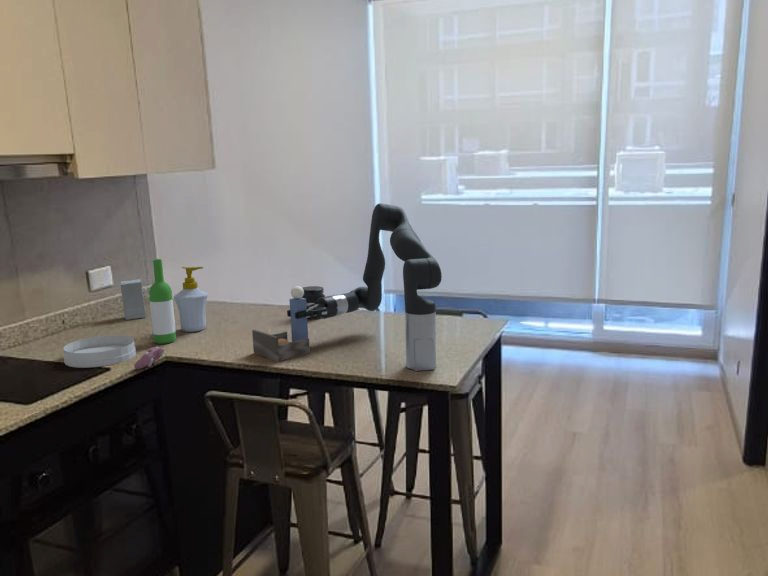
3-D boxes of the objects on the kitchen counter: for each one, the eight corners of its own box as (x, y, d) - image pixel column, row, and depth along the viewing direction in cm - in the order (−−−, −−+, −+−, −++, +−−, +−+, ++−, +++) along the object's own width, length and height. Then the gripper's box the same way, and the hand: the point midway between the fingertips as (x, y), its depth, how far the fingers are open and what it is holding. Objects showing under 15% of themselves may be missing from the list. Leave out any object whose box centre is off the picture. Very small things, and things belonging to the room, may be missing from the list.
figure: (301, 342, 222) (298, 284, 218) (309, 344, 219) (306, 285, 215) (291, 344, 219) (287, 286, 215) (298, 347, 216) (295, 287, 212)
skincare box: (144, 314, 276) (141, 278, 272) (146, 318, 269) (142, 281, 266) (123, 317, 272) (119, 280, 269) (124, 320, 266) (120, 283, 263)
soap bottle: (204, 333, 242) (199, 269, 237) (171, 334, 242) (165, 269, 237) (214, 325, 254) (210, 263, 249) (183, 325, 255) (177, 264, 250)
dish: (72, 352, 223) (70, 338, 222) (139, 346, 228) (138, 332, 227) (57, 371, 201) (55, 356, 200) (131, 364, 207) (130, 349, 206)
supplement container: (298, 320, 259) (297, 291, 257) (301, 314, 270) (300, 286, 267) (324, 319, 259) (323, 290, 257) (326, 313, 270) (325, 285, 267)
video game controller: (144, 375, 200) (152, 356, 198) (132, 368, 200) (139, 349, 198) (161, 365, 209) (168, 347, 208) (149, 358, 210) (156, 340, 208)
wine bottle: (151, 345, 228) (142, 261, 222) (157, 339, 235) (149, 258, 230) (173, 344, 228) (165, 260, 223) (178, 338, 236) (171, 257, 230)
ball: (283, 353, 210) (294, 347, 213) (275, 340, 210) (287, 334, 213) (277, 358, 213) (289, 351, 217) (269, 345, 214) (281, 339, 217)
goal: (286, 345, 223) (284, 322, 222) (309, 353, 213) (308, 329, 212) (253, 353, 215) (252, 330, 213) (276, 361, 205) (275, 337, 203)
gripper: (319, 293, 231) (279, 300, 219) (344, 298, 220) (303, 306, 209) (320, 313, 232) (280, 322, 221) (345, 319, 222) (304, 329, 210)
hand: (291, 314), depth 215 cm, fingers closed on figure, 4 cm apart
